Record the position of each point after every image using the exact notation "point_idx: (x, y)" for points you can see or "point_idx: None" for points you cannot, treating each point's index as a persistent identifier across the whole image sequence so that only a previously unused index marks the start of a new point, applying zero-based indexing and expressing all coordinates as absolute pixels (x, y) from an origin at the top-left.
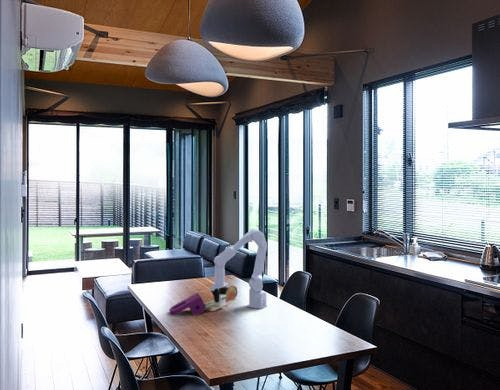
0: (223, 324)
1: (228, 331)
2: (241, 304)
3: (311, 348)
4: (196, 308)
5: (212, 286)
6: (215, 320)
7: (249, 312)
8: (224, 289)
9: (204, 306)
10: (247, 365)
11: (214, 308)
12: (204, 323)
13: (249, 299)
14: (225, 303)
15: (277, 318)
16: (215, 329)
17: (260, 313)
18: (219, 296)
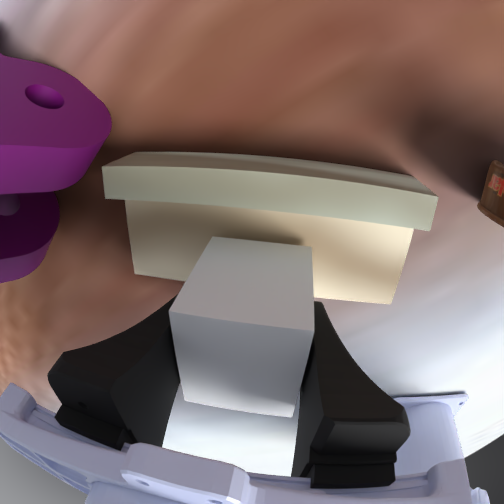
0: None
1: (44, 402)
2: (448, 352)
3: None
4: (12, 194)
5: (27, 444)
6: (55, 346)
7: (278, 436)
8: (294, 473)
9: (29, 270)
10: None
11: (162, 274)
12: (7, 319)
13: (406, 446)
14: (369, 294)
15: None
16: (19, 369)
17: (288, 460)
18: (183, 386)
